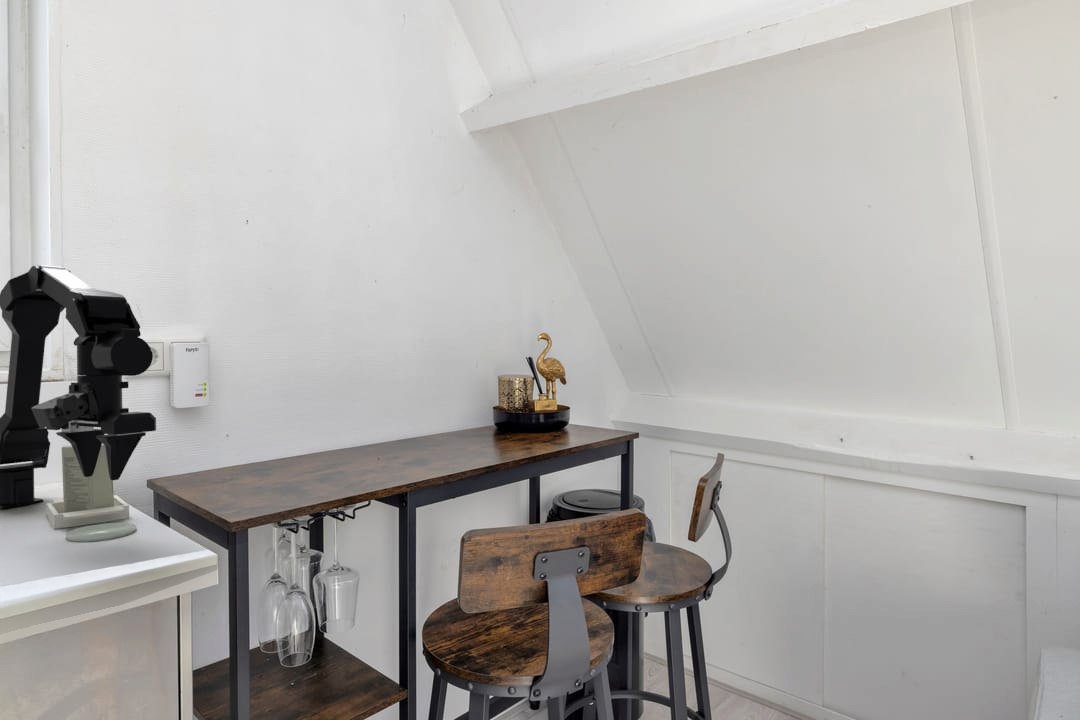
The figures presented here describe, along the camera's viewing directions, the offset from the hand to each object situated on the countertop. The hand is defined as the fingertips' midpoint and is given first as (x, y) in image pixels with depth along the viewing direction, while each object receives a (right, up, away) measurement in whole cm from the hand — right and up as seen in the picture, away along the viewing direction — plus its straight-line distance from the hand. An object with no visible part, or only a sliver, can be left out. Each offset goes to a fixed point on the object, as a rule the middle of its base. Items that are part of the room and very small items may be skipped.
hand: (101, 478), depth 104 cm
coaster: (0, -8, 0) cm, 8 cm away
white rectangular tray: (-9, -9, +11) cm, 17 cm away
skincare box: (-9, -9, +11) cm, 17 cm away
